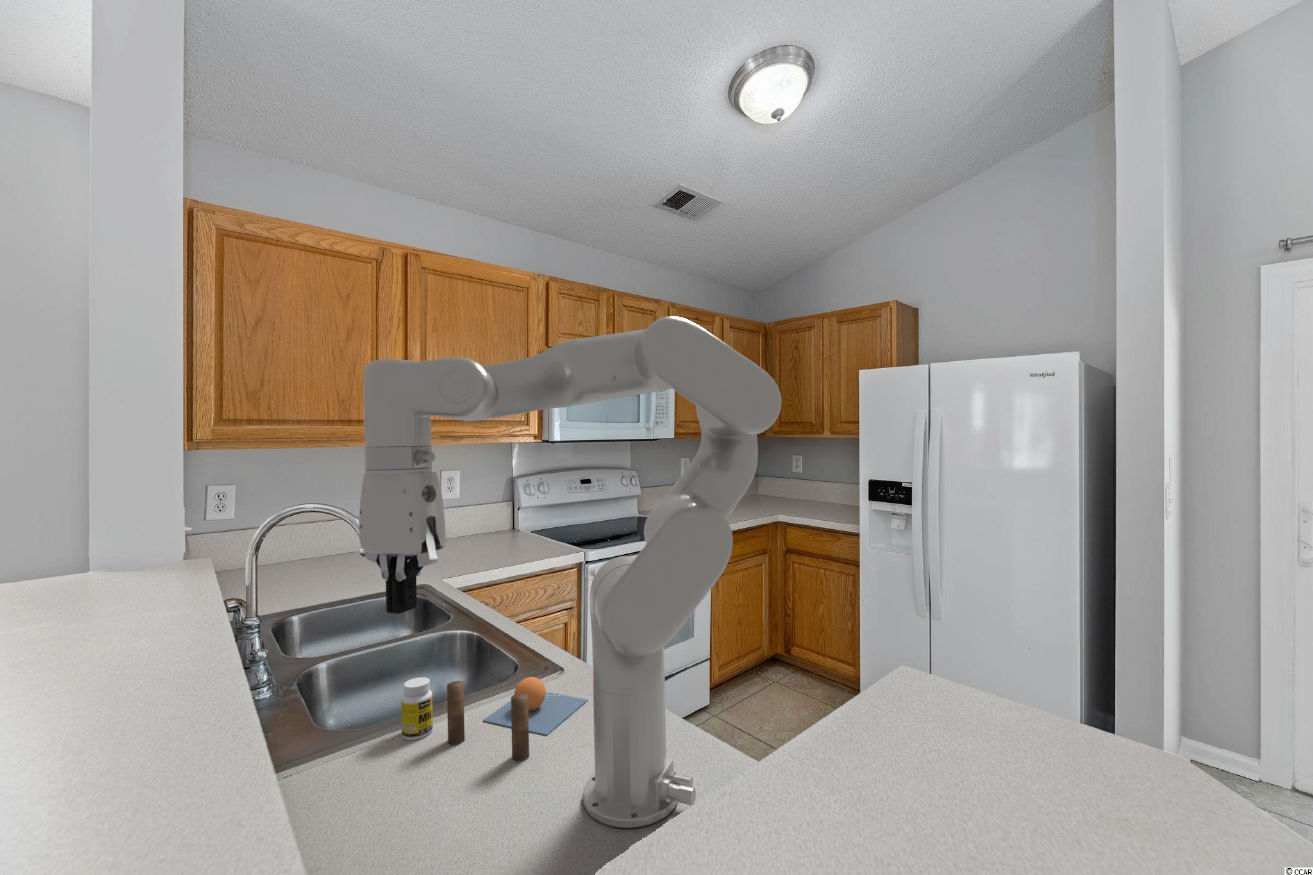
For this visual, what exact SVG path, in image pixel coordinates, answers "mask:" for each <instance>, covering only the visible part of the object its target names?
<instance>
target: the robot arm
mask: <svg viewBox="0 0 1313 875" xmlns="http://www.w3.org/2000/svg"><path fill="white" fill-rule="evenodd" d="M362 376H363V378H362V381H363V383H362V384H363V389H362V390H363V419H364V420H363V427H364V428H363V429H364V432H363V433H364V436H363V437H364V474H363V479H362V482H361V483H362V484H361V491H360V499H359V516H358V517H359V518H358V520H359V521H358V522H359V523H358V524H359V525H358V526H359V528H358V530H359V533H358V534H359V541H360V542H359V543H360V547H361V549H363V550H364V551H365V552H366V553H365V558H366V559H367V560H368V561H370V562H372V563H374V564H377V565H378V567H379V568H380V575H381V578H382V579H383V580H385V606H386V607H385V610H386V613H388V614H395V615H400V614H402V613H405V612H407V611H411V610H413V609H416V608H417V606H418V599H417V595H418V594H417V577H418V576H420V575H421V572H422V571H421V570H422V569H423V568H424V567H426V566H429V565H433V564H436V563H438V560H439V559H438V558H439V557H438V553H437V551H440V550H442V549H444V548H445V546H446V536H447V535H446V520H445V510H444V509H445V507H444V501H443V500H444V499H443V495H442V488H441V483H440V480H439V475H438V473H437V471H433V462H434V461H435V459H436V455H435V453H434V452H433V450H432V416H433V417H442V418H447V419H448V418H450V419H453V420H459V421H464V422H477V421H478V422H479V421H483V420H489V419H496V418H501V417H507V416H508V417H509V416H514V415H518V414H524V413H525V414H526V413H530V412H531V413H532V412H535V411H536V412H538V411H542V410H547V409H558V408H559V409H562V408H570V407H575V406H580V405H586V404H590V403H592V404H593V403H597V402H603V401H608V400H609V401H610V400H613V399H620V398H627V397H632V396H633V397H634V396H638V395H639V396H640V395H645V394H652V393H653V394H654V393H658V392H662V391H667V390H671V389H673V390H674V391H676V393H678V394H679V395H681V396H682V397H684V398H685V399H687V401H689V402H691V403H692V404H694V405H695V412H696V417H697V420H698V422H699V423H698V424H699V427H700V432H701V433H700V435H701V437H700V445H699V448H698V450H697V452H696V455H695V456H694V457H693V459H692V461H690V463H689V465H688V467H687V468H686V469H685V470H684V472H683V473H681V476H680V477H679V478H678V479H677V480H676V482H675V483H674V484H673V486H672V487H671V488H670V489H669V490H668V492H667V493H666V494H665V495H664V496H663V497H662V498H661V500H660V501H659V502H658V503H657V504H656V505H655V506H654V508H653V509H652V510H651V511H650V513H649V514H648V516H647V518H646V521H645V523H644V528H643V537H644V541H645V545H644V547H643V548H642V549H641V550H640V552H639V553H638V554H637V556H636V557H634V556H629V555H626V556H625V555H623V556H622V555H621V556H617V557H614V558H612V559H609V560H607V561H606V562H605V563H604V564H602V566H600V567H599V569H597V571H596V573H595V575H594V577H593V578H592V581H591V585H590V589H589V614H590V615H589V616H590V627H591V629H590V630H591V646H592V647H591V648H592V689H593V691H592V693H593V694H592V695H593V698H592V699H593V739H594V740H593V743H594V745H593V746H594V748H593V749H594V752H593V753H594V774H593V775H592V776H591V777H590V778H589V779H588V780H587V781H586V783H585V785H584V786H583V792H582V794H583V797H582V798H583V805H584V808H585V810H586V811H587V813H588V814H589V816H591V817H592V818H594V819H595V820H597V821H598V822H600V823H602V824H605V825H607V826H611V827H614V828H615V827H616V828H624V829H625V828H626V829H630V828H631V829H632V828H641V827H645V826H648V825H651V824H654V822H655V823H657V822H659V821H660V820H662V819H664V818H665V817H667V816H668V815H670V813H671V812H672V811H673V810H674V808H675V807H676V805H677V803H680V804H684V805H688V806H692V805H694V804H695V801H696V795H697V794H696V793H697V790H696V788H695V787H693V783H694V779H693V776H687V775H681V774H677V771H674V759H673V758H670V757H667V737H666V735H667V732H666V691H665V690H666V688H665V687H666V686H665V682H666V681H665V677H666V676H665V675H666V674H665V673H666V672H665V670H666V669H665V650H664V649H665V648H664V646H666V644H668V643H669V642H670V641H671V640H672V639H673V638H674V637H675V636H676V634H677V633H678V632H679V631H680V629H681V628H682V627H683V626H684V624H685V623H686V622H687V621H688V619H689V618H690V617H691V615H692V614H693V613H694V611H695V610H696V609H697V608H698V606H699V605H700V603H701V602H702V601H703V600H704V598H705V597H706V596H707V594H708V593H709V592H710V590H711V589H712V588H713V587H714V586H715V585H716V583H717V581H718V580H719V578H720V577H721V575H723V573H724V571H725V569H726V568H727V565H728V563H729V560H730V558H731V555H732V551H733V541H734V540H733V539H734V537H733V532H732V528H731V525H730V523H729V521H728V518H729V517H730V516H731V514H732V513H733V511H735V508H736V507H737V506H738V504H739V502H740V501H741V500H742V498H743V497H744V496H745V494H746V493H747V491H748V490H749V488H750V486H751V484H752V482H753V480H754V478H755V474H756V471H757V468H758V461H759V460H758V456H759V447H758V445H759V444H758V435H760V434H762V433H764V432H765V431H767V430H768V429H769V428H771V427H772V426H773V425H775V424H774V423H775V422H776V421H777V420H778V418H779V416H780V413H781V409H782V394H781V392H780V389H779V388H780V387H779V386H778V385H777V383H776V381H775V380H774V378H773V377H772V376H771V375H770V374H769V373H768V372H767V371H766V370H765V369H764V368H762V367H760V366H759V365H758V364H757V363H755V362H753V361H752V360H750V359H749V358H748V357H746V356H744V355H743V354H742V353H740V352H739V351H737V350H736V349H735V348H733V347H732V346H730V345H728V344H727V343H726V342H724V341H723V340H721V339H720V338H719V337H717V336H716V335H714V334H712V333H711V332H710V331H707V329H705V328H703V327H702V326H700V325H698V324H696V323H695V322H693V321H691V320H688V319H687V318H684V317H680V316H675V315H673V316H663V317H661V318H658V319H657V320H655V321H653V322H652V323H651V324H649V325H648V327H647V328H645V329H639V330H632V331H624V332H618V333H611V334H603V335H598V336H591V337H590V336H588V337H582V338H581V337H580V338H576V339H575V338H574V339H568V340H565V341H562V342H560V343H557V344H555V345H553V346H552V347H551V346H550V347H549V348H548V349H546V350H544V351H543V352H540V353H538V354H536V355H532V356H529V357H526V358H521V359H518V360H512V361H507V362H501V363H494V364H493V363H492V364H486V365H485V364H484V365H481V364H479V362H477V361H475V360H473V359H471V358H467V357H462V356H461V357H460V356H455V357H454V356H452V357H444V358H437V359H429V360H418V361H417V360H416V361H414V360H409V359H407V360H406V359H395V358H394V359H393V358H392V359H391V358H390V359H388V358H387V359H377V360H373V361H370V362H369V363H368V364H366V366H365V367H364V369H363V375H362Z"/></svg>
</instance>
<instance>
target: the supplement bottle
mask: <svg viewBox="0 0 1313 875" xmlns="http://www.w3.org/2000/svg"><path fill="white" fill-rule="evenodd" d="M400 706H401V708H400V709H401V710H400V711H401V738H403V739H404V740H405V741H406V740H408V741H417V740H421V739H424V738H426V737H428V736H429V735H430V734H431V733H432V732H433V730H434V723H433V722H434V720H433V719H434V718H433V716H434V715H433V712H434V711H433V710H434V709H433V692H432V690H431V681H430V678H428V677H423V676H422V677H414V678H411V679H409V680H407V681H405V682H404V684H403V695H402V697H401V700H400Z"/></svg>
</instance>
